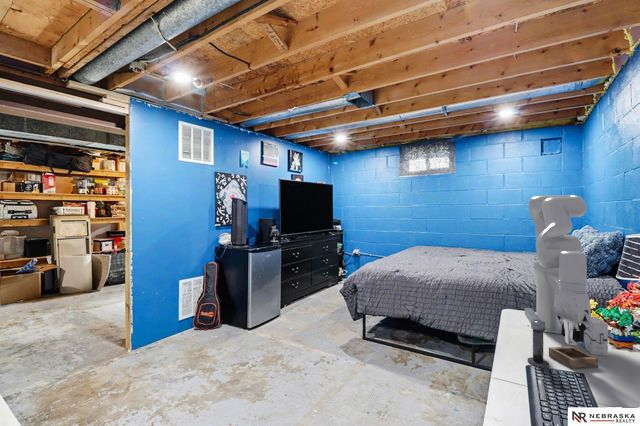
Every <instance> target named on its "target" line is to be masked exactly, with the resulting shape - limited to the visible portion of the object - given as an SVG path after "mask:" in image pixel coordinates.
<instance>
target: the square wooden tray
mask: <svg viewBox="0 0 640 426" xmlns="http://www.w3.org/2000/svg"><path fill="white" fill-rule="evenodd" d="M548 356H549V357H550V358H552V359H554V360H556V361H557V362H560V363H561V364H563V365H565V366H567V367H568V368H570V369H571V370H576V369H577V370H581V369H593V368H595V369H596V368H599V358H598V357H595V356H594V355H592V354H589V353H587V352H585V351H583V350H581V349H579V348H577V347H575V346H574V345H571V346H555V347H554V346H553V347H548Z"/></svg>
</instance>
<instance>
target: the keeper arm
mask: <svg viewBox="0 0 640 426" xmlns="http://www.w3.org/2000/svg"><path fill="white" fill-rule="evenodd" d="M524 315H525V317H526V319H527V320H528V321H529V324H530V329H532V330H533V329H534V330H537V331H543V332H544V331H545V322H544V321H541V320H540V318H539V317H538V316H537V314H536V312H535V311H534V309H533V308H531V307H530V308H529V307H524Z"/></svg>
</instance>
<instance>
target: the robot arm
mask: <svg viewBox="0 0 640 426" xmlns="http://www.w3.org/2000/svg"><path fill="white" fill-rule="evenodd" d="M528 212H529V215H530V217H531V219H532V221H533V224H534V227H535V242H536V243H535V251H536V257H537V259H536V260H535V261H534V263H533V270H534V276H535V282H536V283H535V285H536V287H535V288H536V292H535V293H536V303H535V304H536V308H535V309H536V312H535V313H536V314H537V316H538V317H539V318H540V320H541V321H544V322H545V331H543V333H544V332H545V333H549V334H553V335H554V334H555V335H561V336H562V337H563V338H565V333H564V322H563V318H565V319H568V320H570V321H573V322H575V329H576V330H574V341H575V342H577V343H581V342H584V331H586V329H588V328H590V327H593V326H594V325H593V323H592V321H591V317H592V312H591V302H590V296H589V293H588V291H587V290H588V289H587V287H588V286H587V284H588V283H587V279H588V278H587V272H588V271H587V270H588V269H587V265H588V264H587V260H588V259H587V255H586V254H585V253H584V252H583V247H582V242H581V240H580V238H579V237H577V236H576V235H571V234H569V233H571V232H572V230H573V223H572V220H571V218H572V217H573V218H581V217H583V216H585V215H586V213H587V204H586V201H585V199H584V198H582V197H581V196H579V195H573V194H565V195H564V194H561V195H559V194H558V195H556V194H555V195H550V194H549V195H537V196H533V197H531V198H530V199H529V201H528ZM579 323H580V326H579Z"/></svg>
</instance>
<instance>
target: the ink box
mask: <svg viewBox="0 0 640 426" xmlns="http://www.w3.org/2000/svg"><path fill="white" fill-rule="evenodd" d="M591 321H592V323H593V325H594V326H593V327H590V328H588V329H586V331H584V342H580V345H581V346H582V347H583V348H585V350H587V351H588V353H590V355H595V356H603V357H604V356H605V357H608V343H609V339H608V337H609V336H608V335H609V334H608V333H609V324H608V323H607V322H606V321H604V320H602V319H601V318H599V317H598V316H591Z"/></svg>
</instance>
